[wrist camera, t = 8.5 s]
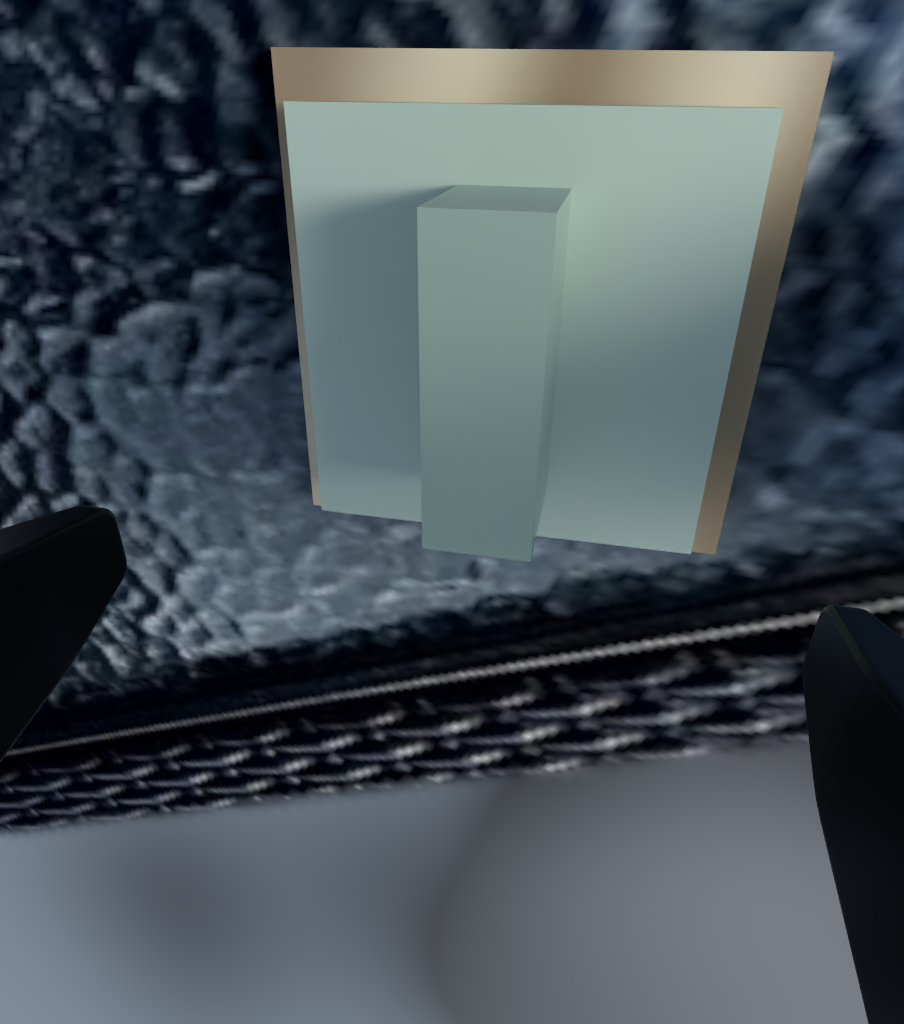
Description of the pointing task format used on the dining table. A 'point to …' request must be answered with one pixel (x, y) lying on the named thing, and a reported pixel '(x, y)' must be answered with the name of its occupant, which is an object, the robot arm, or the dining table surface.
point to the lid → (523, 311)
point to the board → (595, 82)
